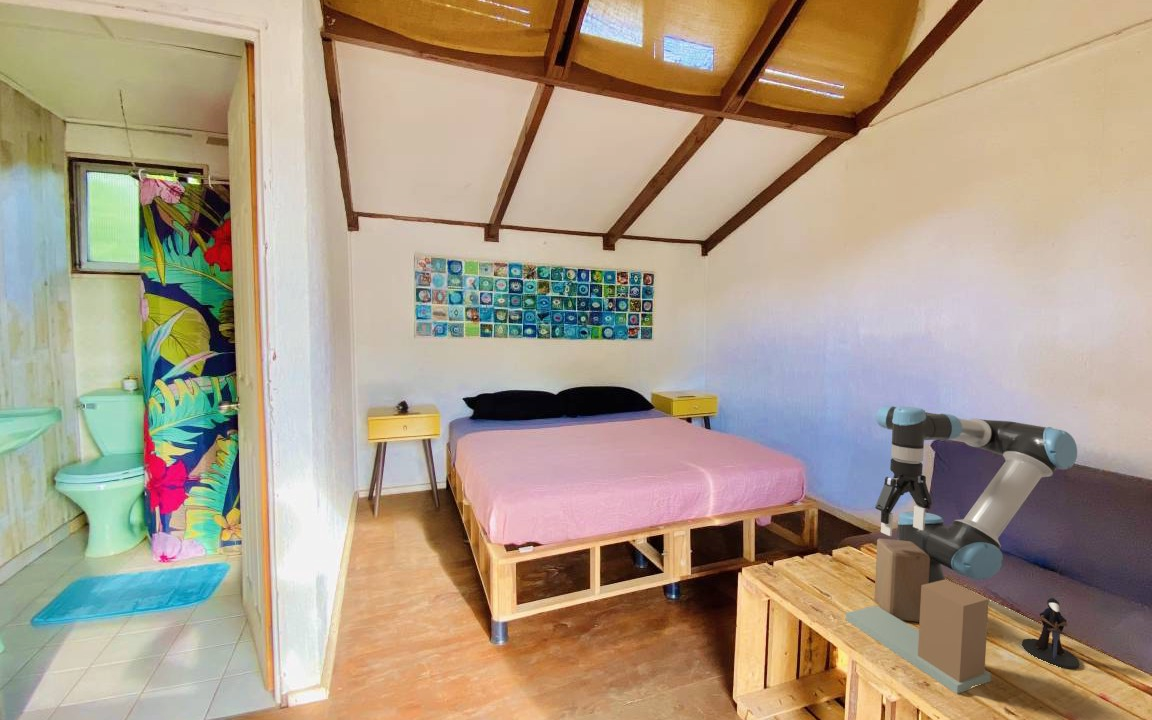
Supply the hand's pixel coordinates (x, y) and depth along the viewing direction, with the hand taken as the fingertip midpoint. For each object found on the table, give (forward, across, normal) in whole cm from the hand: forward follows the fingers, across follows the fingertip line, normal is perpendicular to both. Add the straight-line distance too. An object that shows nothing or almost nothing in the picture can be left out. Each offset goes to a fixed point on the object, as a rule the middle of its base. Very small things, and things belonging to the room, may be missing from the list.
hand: (902, 531), depth 130 cm
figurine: (+24, -19, +25) cm, 40 cm away
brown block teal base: (+24, +13, +12) cm, 30 cm away
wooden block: (+25, 0, 0) cm, 25 cm away
